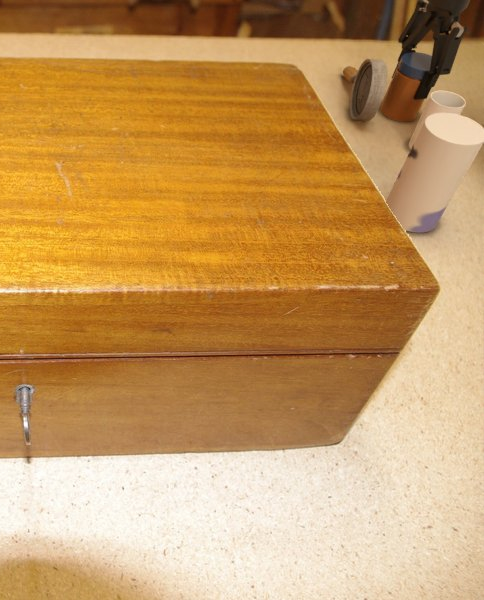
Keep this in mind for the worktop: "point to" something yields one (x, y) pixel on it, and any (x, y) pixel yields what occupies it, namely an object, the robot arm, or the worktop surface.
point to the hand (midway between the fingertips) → (408, 87)
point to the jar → (401, 98)
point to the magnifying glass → (366, 88)
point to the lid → (415, 64)
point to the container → (434, 170)
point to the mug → (439, 108)
